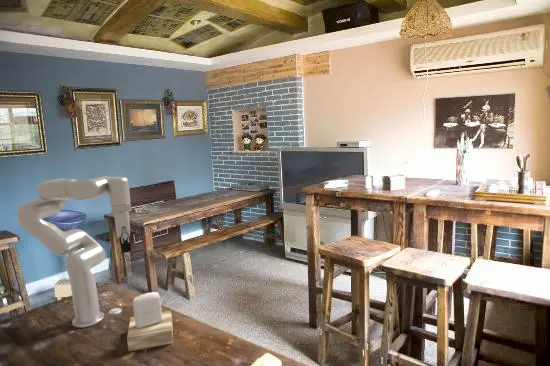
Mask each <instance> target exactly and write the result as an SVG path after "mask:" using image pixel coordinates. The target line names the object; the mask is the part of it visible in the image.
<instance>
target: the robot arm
mask: <svg viewBox="0 0 550 366" xmlns="http://www.w3.org/2000/svg"><path fill="white" fill-rule="evenodd" d="M129 186H130V185H129V178H128V177H126V176H109V175H104V176H99V177H95V178H89V179H86V180H77V179H74V178H63V177H61V178H55V179H51V180H45V181H43V182H41V183H40V184H39V185H38V186H37V188H36V195H37V196H38V197H39V198H38V199H34V200H30V201H28V202H25V203H24V204H22V205H20V206H19V208H17V211H16V212H17V213H16V214H17V215H16V216H17V220H18V223H19V225H20V226H21V228H23V230H25V231H26V232H27V233H29V234H30V235H31V236H33V237H34V238H36V239H37V240H38V241H39V242H40V243H42V244H43V245H44V246H45V247H46V248H47V249H48V250H49V251H50V252H51V253H52V254H54V255H55V256H58V257H65V256H67V257H66V258H65V261H64V266H65V270H66V272H67V276H68V278H69V282H70V288H71V289H70V290H71V296H72V302H73V309H74V310H73V311H74V316H75V317H74V318H72V320H71V322H72V323H71V324H72V326H73V327H74V328H87V327H90V326H94V325H96V324H98V323H100V322H102V320H103V319H104V318H105V314H104V312H103V311H100V304H99V296H98V291H97V290H98V289H97V281H96V277H95V275H94V274H93V273H92V272H91V269H93V268H94V267H96V266H98V265H101V264H102V262H103V261H105V259H106V251H105V249H104V247H103V246H102V245H101V244H100V243H99V242H98V241H96V240H95V239H94V238H93V237H92V236H90V235H89V234H88V233H87V232H86V231H84V230H82V229H79V228H73V229H72V228H71V229H69V230H65V231H63V230H62V229H60V228H59V227H58V226H57V225H55V224H54V223H52V222H51V221H47V220H44V219H45V218H48V217H53V216H54V215H57V214H59V213H60V212H61V211H62V210H63V208H64V206H65V205H66V204H67V202H68V201H69V200H73V201H82V200H83V201H85V200H93V199H97V198H100V197H103V196H108V195H109V204H110V211H111V214H114V223H115V232H116V233H115V234H116V237H117V238H118V239H119V240H120V241H119V242H120V246H121V252H122V254H124V253H130V252H132V248H131V242H130V236H131V225H130V223H131V222H130V214H129V212H131V211H132V203H131V195H130V187H129Z"/></svg>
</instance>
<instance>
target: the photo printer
mask: <svg viewBox="0 0 550 366" xmlns="http://www.w3.org/2000/svg"><path fill="white" fill-rule="evenodd" d="M132 309H133V315H134V316H133V317H135V324H136V328H141V327H145V326H148V325H151V324H155V323H158V322H161V321H162V312H163V311H162V304H161V296H160V294H159V292H156V291H151V292H145V293H142V294H140V295H137V296H136V297H135V298H133V301H132Z"/></svg>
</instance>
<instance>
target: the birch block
mask: <svg viewBox="0 0 550 366" xmlns="http://www.w3.org/2000/svg"><path fill="white" fill-rule="evenodd" d="M172 315H173V314H172V310H165V311H162V321H161V322H158V323H155V324H151V325H148V326H145V327H141V328H136V324H135V317H134V316H130V318H129V325H128V330H127V335H126V340H127V341H126V342H127V348H128V352H129V351H130V352H134V351H139V350H145V349H149V348H155V347H159V346H165V345H170V344H174V335H173V333H174V332H173V329H174V327H173V316H172ZM144 348H145V349H144Z"/></svg>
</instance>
